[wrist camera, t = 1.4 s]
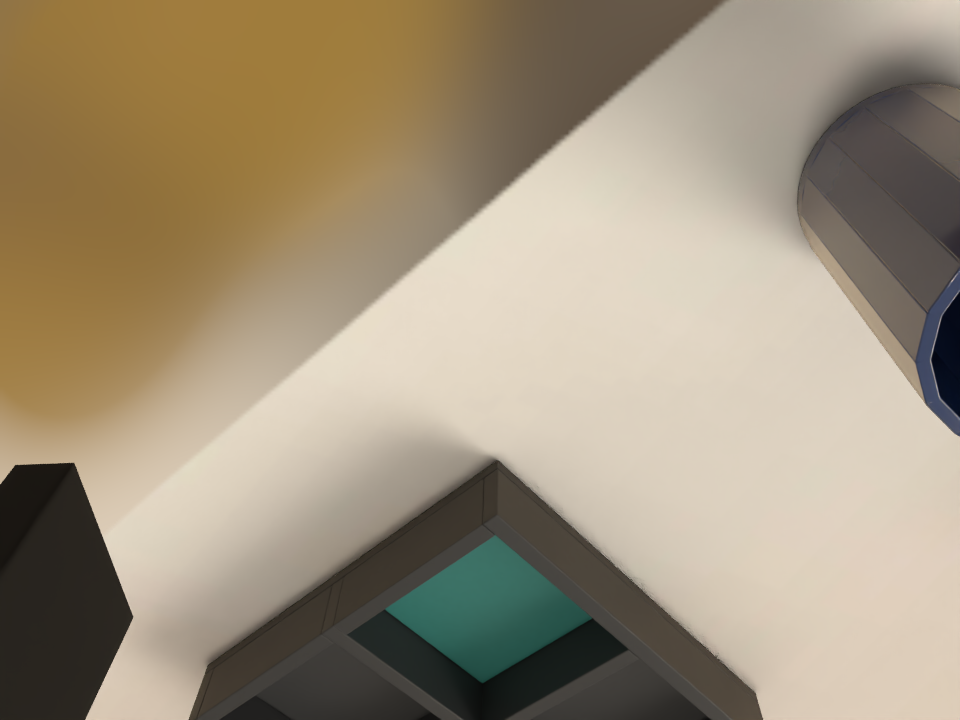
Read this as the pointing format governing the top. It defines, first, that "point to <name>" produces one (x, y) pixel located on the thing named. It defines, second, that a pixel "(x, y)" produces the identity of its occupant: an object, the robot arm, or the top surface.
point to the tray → (475, 631)
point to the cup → (896, 229)
